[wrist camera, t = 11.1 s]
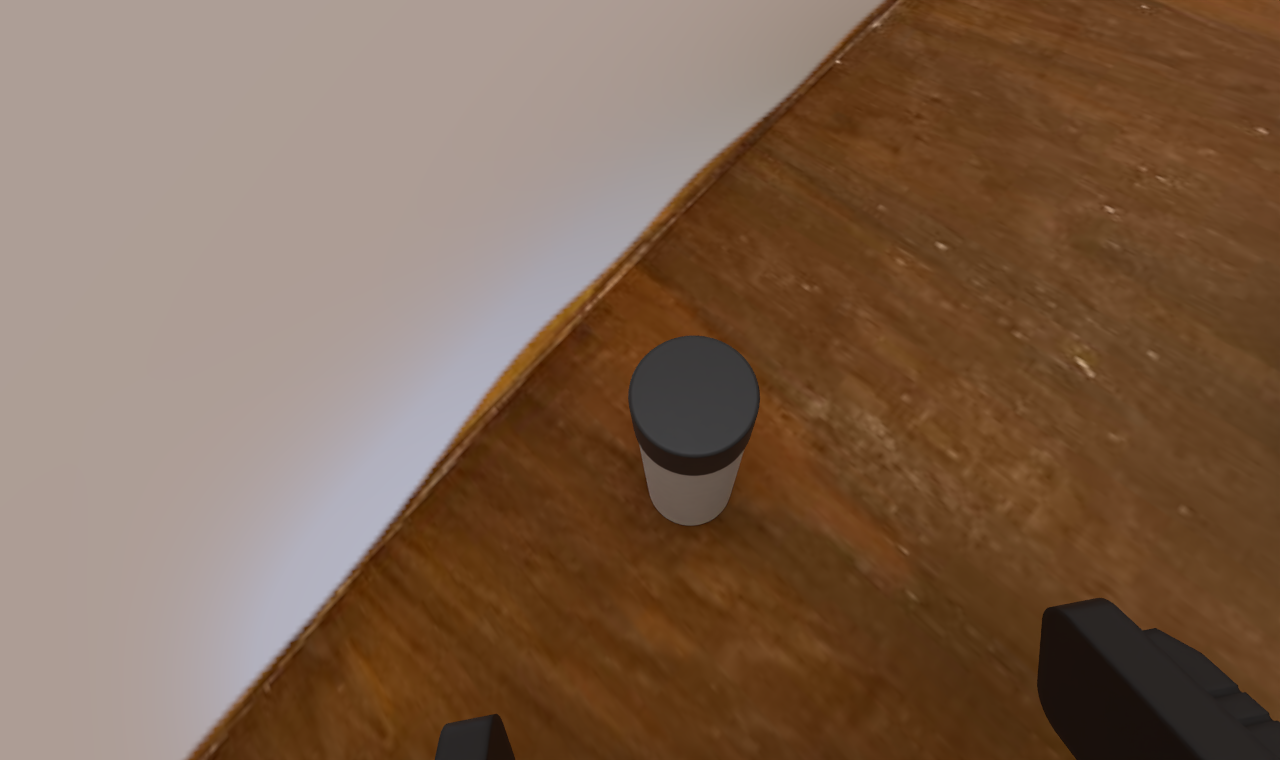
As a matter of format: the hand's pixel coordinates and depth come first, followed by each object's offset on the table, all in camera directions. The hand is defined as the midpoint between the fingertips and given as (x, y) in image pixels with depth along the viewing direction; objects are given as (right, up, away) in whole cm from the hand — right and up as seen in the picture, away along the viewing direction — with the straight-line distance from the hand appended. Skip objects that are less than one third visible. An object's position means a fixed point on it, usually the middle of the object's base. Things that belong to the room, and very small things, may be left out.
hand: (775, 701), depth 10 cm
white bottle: (0, +1, +11) cm, 12 cm away
